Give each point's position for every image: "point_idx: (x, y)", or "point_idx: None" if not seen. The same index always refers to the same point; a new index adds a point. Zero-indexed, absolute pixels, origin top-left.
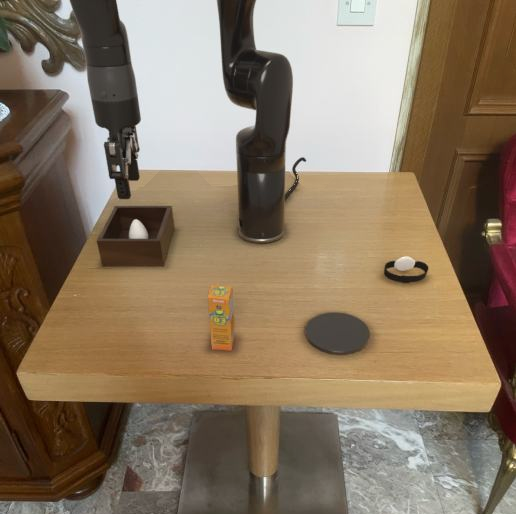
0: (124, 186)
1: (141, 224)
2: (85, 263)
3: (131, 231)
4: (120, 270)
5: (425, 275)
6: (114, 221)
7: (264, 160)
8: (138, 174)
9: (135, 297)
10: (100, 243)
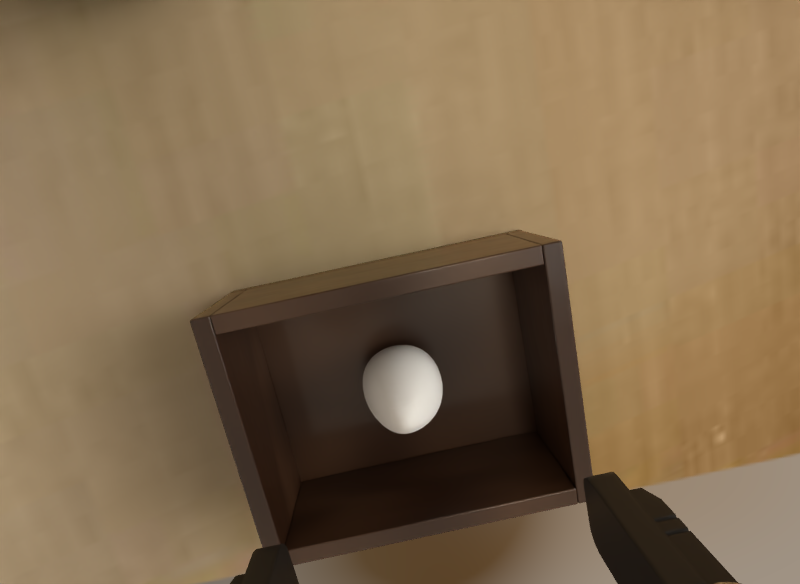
0: (706, 553)
1: (403, 389)
2: None
3: (434, 414)
4: None
5: None
6: (369, 514)
7: None
8: (270, 571)
9: (721, 252)
10: None
